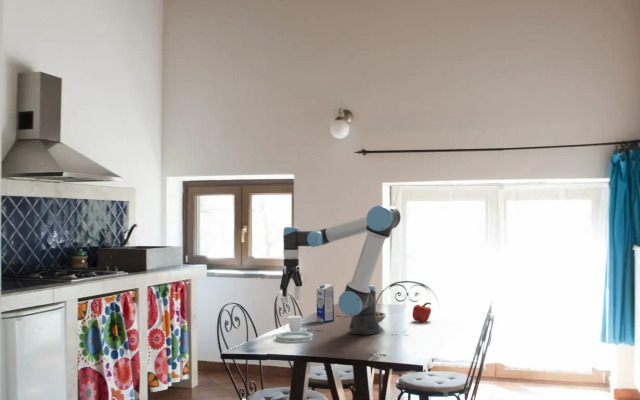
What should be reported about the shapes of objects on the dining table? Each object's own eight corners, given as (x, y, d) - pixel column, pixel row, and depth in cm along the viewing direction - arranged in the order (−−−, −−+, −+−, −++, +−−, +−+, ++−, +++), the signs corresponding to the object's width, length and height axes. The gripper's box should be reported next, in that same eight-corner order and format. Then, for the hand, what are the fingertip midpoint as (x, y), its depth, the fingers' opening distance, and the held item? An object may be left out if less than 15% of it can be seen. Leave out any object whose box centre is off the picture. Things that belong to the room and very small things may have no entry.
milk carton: (334, 321, 351) (333, 284, 352) (324, 322, 347) (323, 285, 348) (326, 319, 357) (326, 283, 358) (316, 321, 353) (316, 284, 354)
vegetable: (427, 319, 353) (426, 301, 353) (436, 322, 343) (435, 303, 343) (408, 320, 349) (408, 302, 350) (417, 323, 340) (417, 304, 340)
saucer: (318, 336, 308) (318, 332, 308) (303, 343, 292) (303, 339, 292) (286, 334, 314) (286, 330, 314) (270, 341, 299) (270, 337, 299)
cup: (298, 334, 314) (297, 318, 314) (280, 333, 318) (279, 317, 318) (304, 332, 320) (304, 316, 320) (287, 331, 325) (286, 315, 325)
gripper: (295, 256, 333) (295, 297, 333) (272, 259, 310) (272, 304, 310) (308, 256, 330) (308, 298, 330) (286, 260, 307) (287, 304, 307)
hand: (291, 301), depth 320 cm, fingers open, 13 cm apart
